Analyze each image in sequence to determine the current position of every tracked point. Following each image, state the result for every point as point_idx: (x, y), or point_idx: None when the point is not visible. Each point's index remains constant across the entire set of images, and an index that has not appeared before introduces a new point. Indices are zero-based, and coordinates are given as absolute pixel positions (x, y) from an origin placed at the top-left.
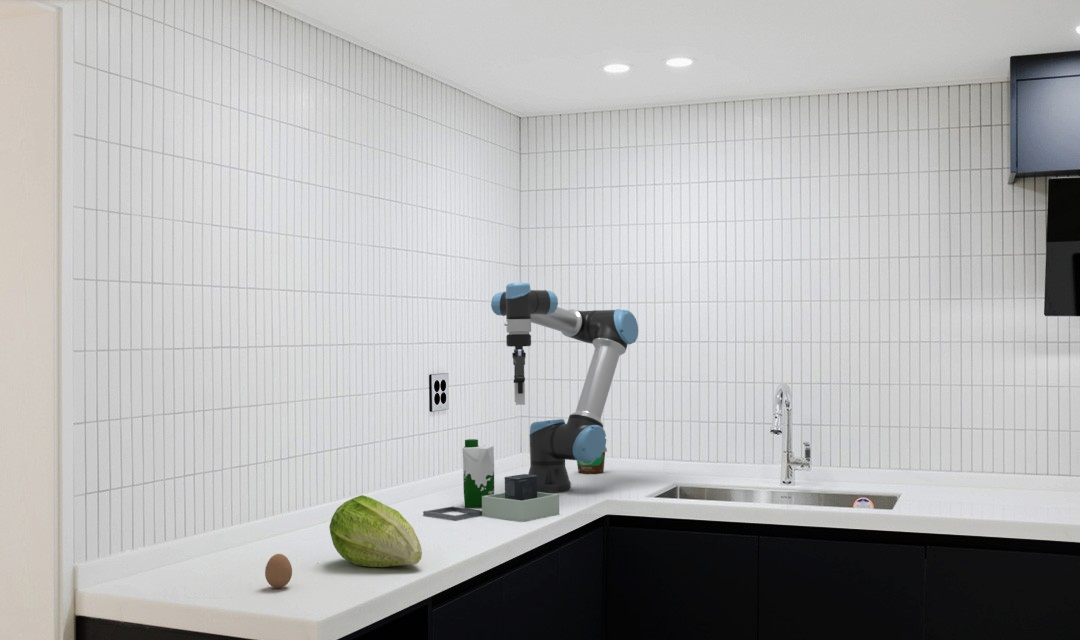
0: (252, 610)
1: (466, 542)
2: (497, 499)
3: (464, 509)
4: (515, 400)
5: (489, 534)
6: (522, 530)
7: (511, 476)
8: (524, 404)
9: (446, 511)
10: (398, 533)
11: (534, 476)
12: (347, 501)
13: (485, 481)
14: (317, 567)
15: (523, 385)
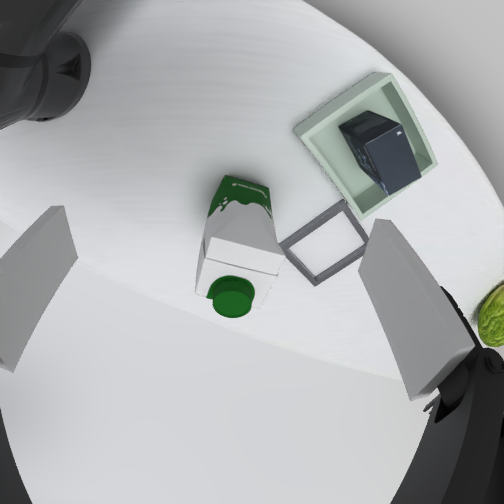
0: None
1: (483, 238)
2: (392, 196)
3: (310, 231)
4: (72, 259)
5: (467, 212)
6: (467, 169)
7: (393, 182)
8: (390, 223)
9: (293, 254)
10: None
11: (404, 130)
12: (501, 345)
13: (271, 215)
14: (477, 325)
15: (457, 332)
